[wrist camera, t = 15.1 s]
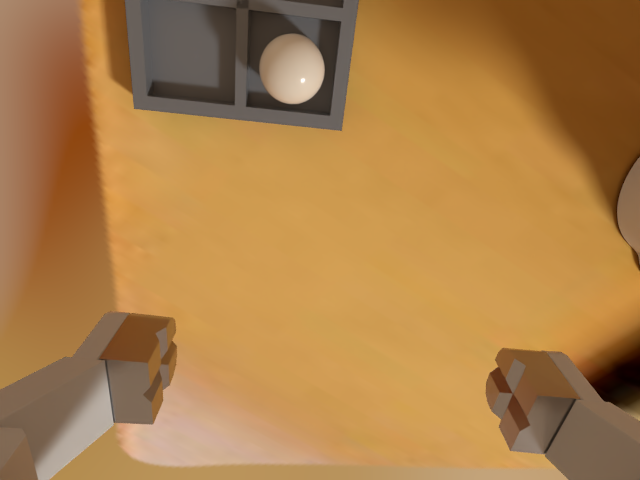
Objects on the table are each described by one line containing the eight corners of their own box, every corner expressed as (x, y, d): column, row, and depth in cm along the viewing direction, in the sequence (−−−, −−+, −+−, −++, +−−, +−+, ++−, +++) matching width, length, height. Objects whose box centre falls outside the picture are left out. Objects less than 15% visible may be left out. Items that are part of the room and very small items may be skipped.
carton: (369, -115, 27) (375, -129, 25) (339, 124, 34) (341, 130, 32) (127, -152, 26) (110, -171, 24) (145, 103, 33) (134, 108, 30)
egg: (326, 37, 30) (330, 38, 25) (319, 99, 32) (321, 112, 27) (266, 29, 30) (257, 29, 25) (262, 92, 32) (254, 104, 27)
